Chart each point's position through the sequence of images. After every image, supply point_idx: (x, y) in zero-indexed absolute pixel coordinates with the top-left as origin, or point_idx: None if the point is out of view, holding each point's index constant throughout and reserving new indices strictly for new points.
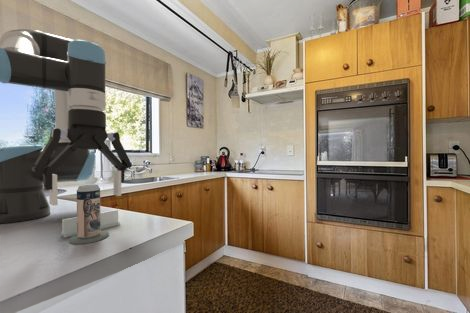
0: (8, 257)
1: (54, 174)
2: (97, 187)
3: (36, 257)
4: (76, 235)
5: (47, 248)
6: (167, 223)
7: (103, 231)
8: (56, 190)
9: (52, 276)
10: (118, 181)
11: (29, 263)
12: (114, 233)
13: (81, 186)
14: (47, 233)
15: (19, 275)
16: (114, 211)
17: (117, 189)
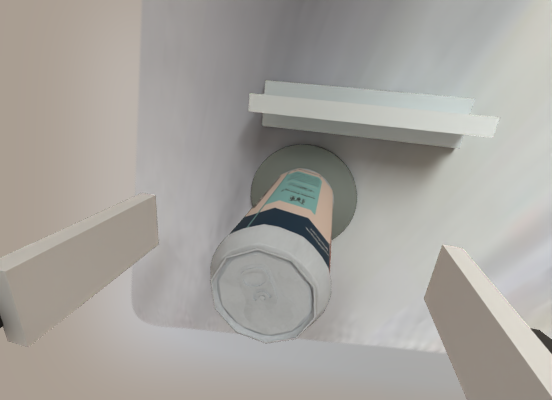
0: (141, 162)
1: (14, 316)
2: (294, 333)
3: (179, 217)
4: (284, 154)
5: (206, 179)
6: (544, 301)
7: (351, 194)
8: (109, 280)
9: (179, 320)
10: (458, 378)
11: (165, 237)
12: (366, 226)
13: (232, 268)
14: (248, 5)
15: (148, 274)
16: (470, 134)
17: (439, 317)
